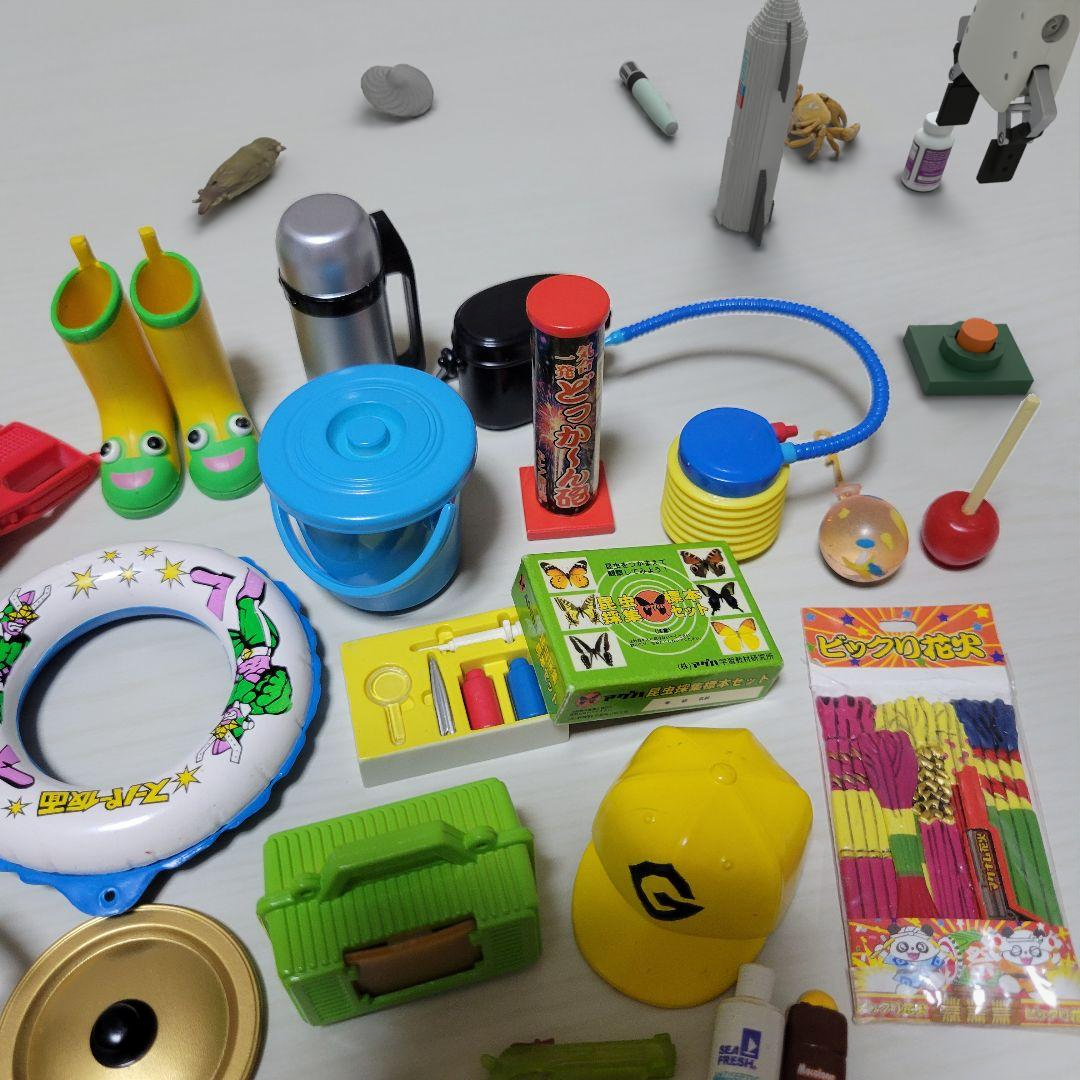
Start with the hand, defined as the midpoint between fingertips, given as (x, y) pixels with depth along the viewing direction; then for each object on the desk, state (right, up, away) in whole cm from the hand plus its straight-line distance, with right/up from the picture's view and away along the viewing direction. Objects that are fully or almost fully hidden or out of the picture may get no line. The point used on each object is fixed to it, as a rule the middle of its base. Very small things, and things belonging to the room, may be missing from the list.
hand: (971, 151), depth 88 cm
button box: (+10, -15, +25) cm, 31 cm away
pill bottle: (+15, +16, +49) cm, 54 cm away
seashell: (-63, +33, +63) cm, 95 cm away
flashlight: (-23, +32, +62) cm, 74 cm away
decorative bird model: (-83, +15, +49) cm, 98 cm away
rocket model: (-12, +9, +44) cm, 46 cm away
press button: (+10, -13, +22) cm, 28 cm away
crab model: (+2, +26, +57) cm, 62 cm away
